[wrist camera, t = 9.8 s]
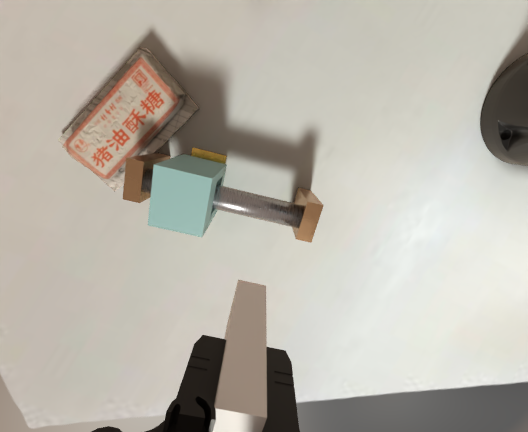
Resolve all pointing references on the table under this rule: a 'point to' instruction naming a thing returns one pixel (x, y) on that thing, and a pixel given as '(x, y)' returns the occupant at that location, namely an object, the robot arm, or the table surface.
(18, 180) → the table surface
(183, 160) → the collar
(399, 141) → the table surface
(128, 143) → the packaged product
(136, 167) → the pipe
